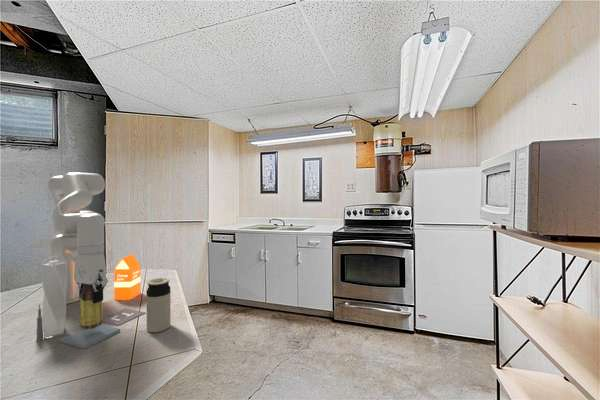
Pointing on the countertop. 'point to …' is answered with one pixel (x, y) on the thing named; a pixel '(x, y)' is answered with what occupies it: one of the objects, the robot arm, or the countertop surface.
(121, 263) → the orange juice
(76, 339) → the pad
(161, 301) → the travel mug
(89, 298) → the sauce bottle
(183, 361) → the countertop surface
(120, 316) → the tile
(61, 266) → the skyscraper
